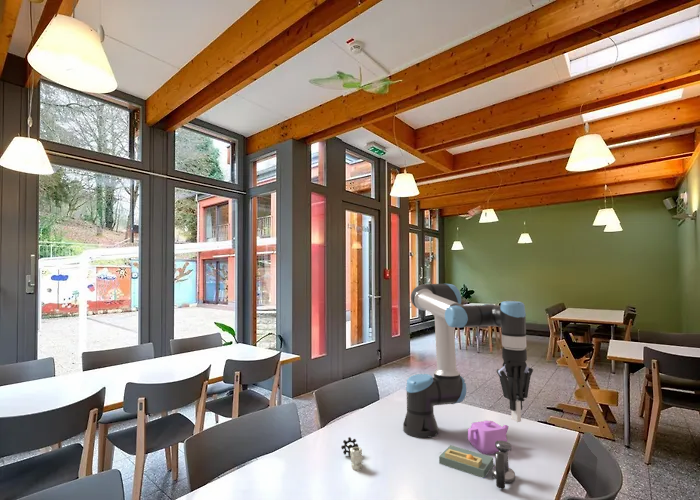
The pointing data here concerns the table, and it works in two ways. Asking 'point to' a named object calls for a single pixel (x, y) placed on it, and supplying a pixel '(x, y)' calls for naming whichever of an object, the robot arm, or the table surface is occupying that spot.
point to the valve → (353, 453)
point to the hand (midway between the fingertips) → (516, 420)
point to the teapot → (486, 436)
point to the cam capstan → (502, 465)
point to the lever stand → (466, 461)
